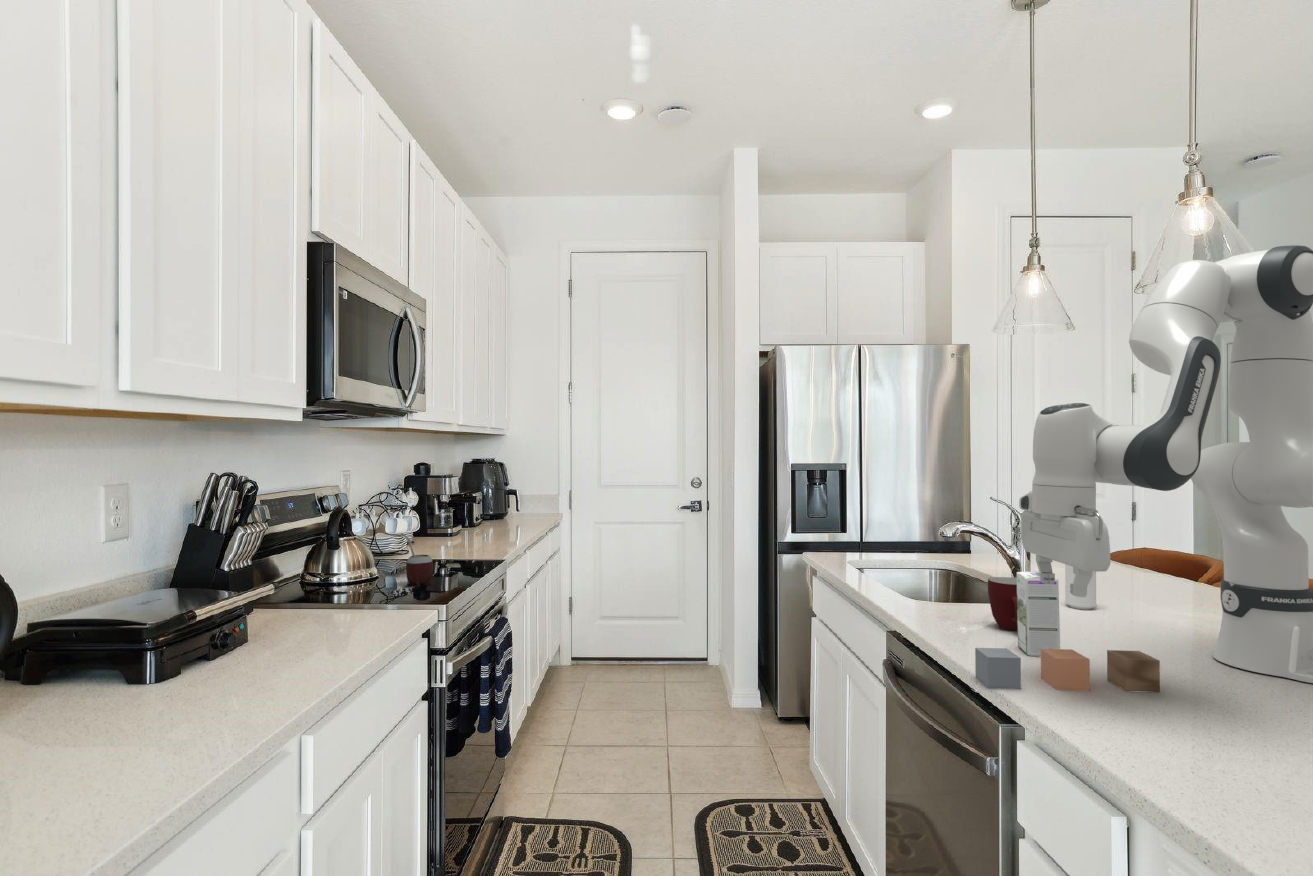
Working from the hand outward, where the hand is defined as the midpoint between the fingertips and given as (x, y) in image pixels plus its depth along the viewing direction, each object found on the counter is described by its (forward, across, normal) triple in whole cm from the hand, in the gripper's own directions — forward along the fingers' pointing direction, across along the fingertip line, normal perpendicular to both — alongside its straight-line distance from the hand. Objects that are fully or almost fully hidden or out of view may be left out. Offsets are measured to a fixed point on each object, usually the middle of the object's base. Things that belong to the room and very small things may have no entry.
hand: (1062, 589), depth 109 cm
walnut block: (+15, 0, -11) cm, 19 cm away
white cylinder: (+15, +53, -32) cm, 64 cm away
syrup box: (+15, +17, -5) cm, 23 cm away
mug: (+15, +32, -7) cm, 36 cm away
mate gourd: (+18, +67, +135) cm, 152 cm away
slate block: (+16, 0, +10) cm, 18 cm away
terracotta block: (+15, 0, -1) cm, 15 cm away
